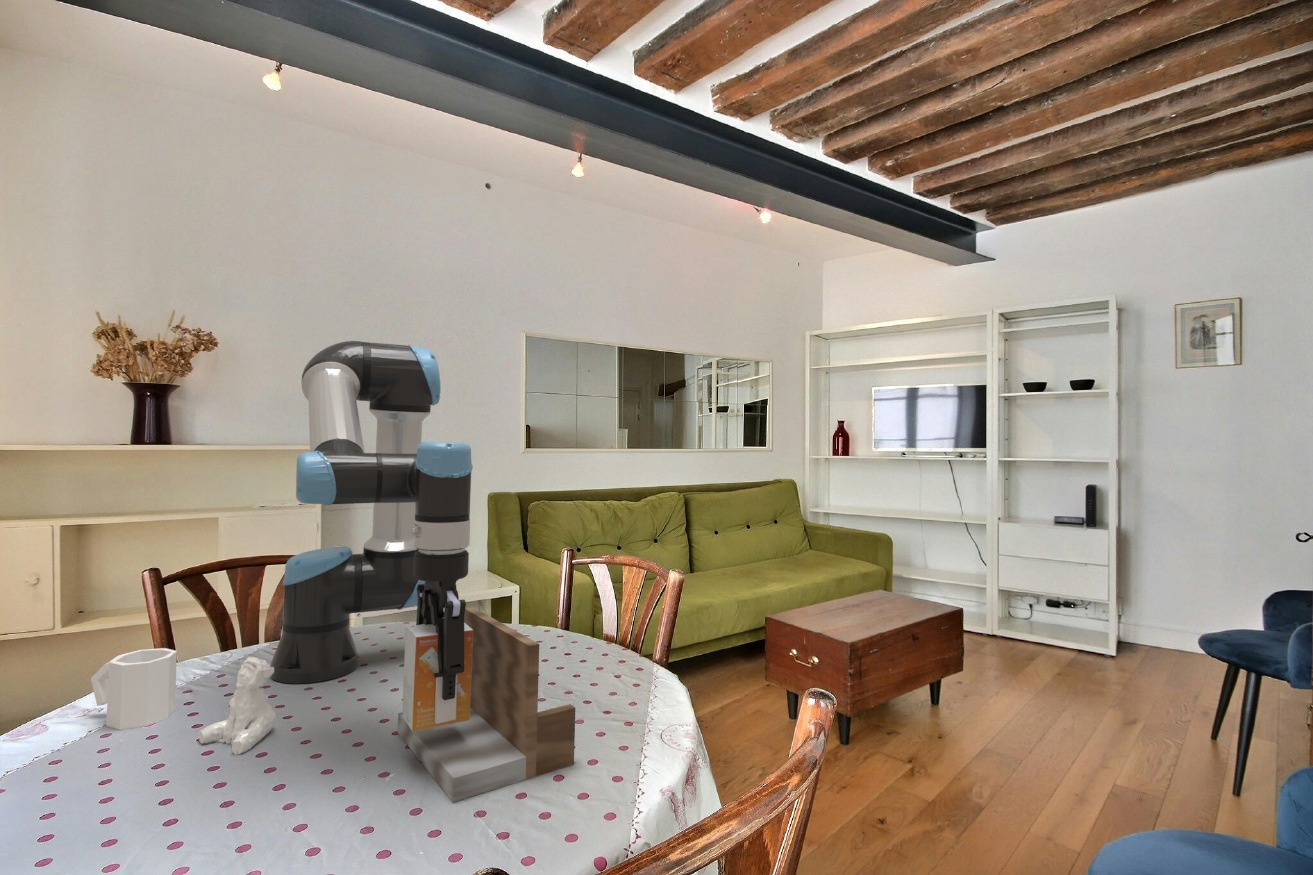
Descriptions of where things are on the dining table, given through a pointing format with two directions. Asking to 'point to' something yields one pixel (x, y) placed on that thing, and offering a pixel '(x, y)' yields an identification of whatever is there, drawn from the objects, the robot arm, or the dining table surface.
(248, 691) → the sitting furry creature
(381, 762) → the dining table surface
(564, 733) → the wall board
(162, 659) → the mug
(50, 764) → the dining table surface
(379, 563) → the robot arm
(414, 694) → the small box
